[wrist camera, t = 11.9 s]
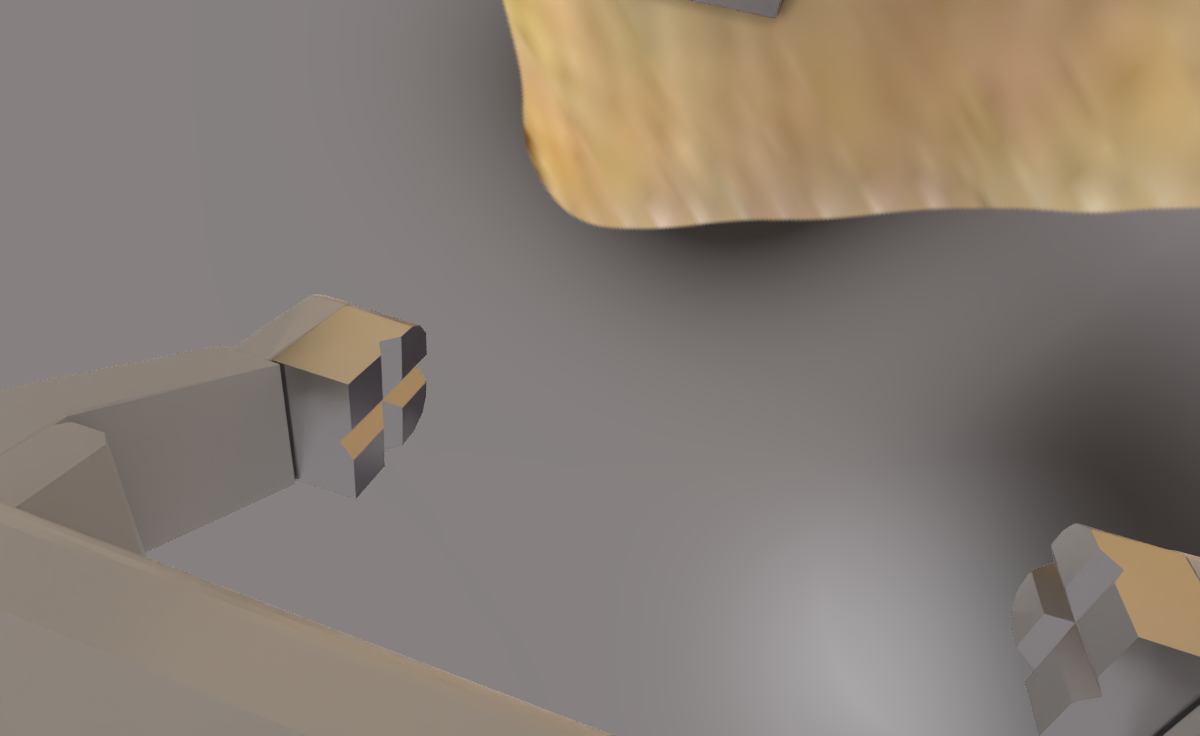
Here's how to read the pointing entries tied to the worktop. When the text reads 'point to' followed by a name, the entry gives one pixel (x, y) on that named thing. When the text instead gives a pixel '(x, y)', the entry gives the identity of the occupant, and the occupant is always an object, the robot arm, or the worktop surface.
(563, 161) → the worktop surface
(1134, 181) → the worktop surface
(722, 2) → the base
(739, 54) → the worktop surface
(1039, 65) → the worktop surface
